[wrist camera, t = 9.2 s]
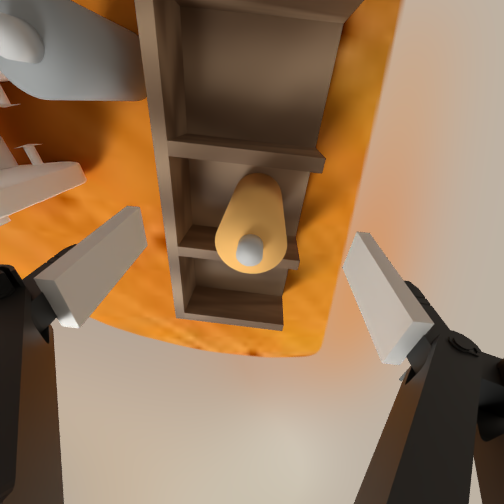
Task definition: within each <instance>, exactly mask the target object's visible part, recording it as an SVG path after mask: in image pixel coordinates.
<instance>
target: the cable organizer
mask: <svg viewBox="0 0 504 504" xmlns="http://www.w3.org/2000/svg"><path fill="white" fill-rule="evenodd" d="M4 81H9V80H8V79H7V78H6V77H5V76H4V75H3V73H2V72H1V71H0V82H4ZM15 105H19V104H11V103H10V101H9V99H8V98H7V96H6V94H5V92H4V90H3V89H2V87H1V85H0V107H5V108H6V107H10V106H15ZM34 145H41V144H26V145H23V146H20V147H16V148H21V147H23V148H24V150H25V152H26V154H27V155H28V157H29V159H30V161H31V162H32V164H27V165H18V164H17V162H16V160H15V158H14V157H13V155H12V153H11V152H10V150H9V148H8V147H7V145H6V143H5V142H4V140H3V138H2V137H1V135H0V226H1V225H4V224H6V223H8V222H10V221H11V220H10V218H9V217H8V216H9V215H11V214H13V213H16V212H18V211H20V210H23V209H25V208H27V207H30V206H32V205H34V204H37V203H39V202H41V201H44V200H46V199H48V198H51V197H53V196H55V195H58V194H60V193H62V192H65V191H67V190H69V189H72V188H74V187H76V186H79V185H81V184H83V183H85V182H86V181H87V179H86V176H85V174H84V172H83V170H82V168H81V166H80V164H79V163H78V162H70V161H66V162H51V163H43V161H42V160H41V158H40V156H39V154H38V152H37V150H36V149H35V147H34ZM13 149H14V148H13Z"/></svg>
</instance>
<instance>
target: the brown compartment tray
mask: <svg viewBox="0 0 504 504" xmlns="http://www.w3.org/2000/svg"><path fill="white" fill-rule="evenodd" d="M363 1H364V0H134V2H135V9H136V17H137V25H138V32H139V40H140V47H141V55H142V63H143V70H144V78H145V85H146V93H147V101H148V108H149V116H150V123H151V131H152V138H153V146H154V154H155V161H156V169H157V176H158V184H159V192H160V199H161V207H162V214H163V222H164V230H165V237H166V245H167V252H168V260H169V267H170V275H171V283H172V290H173V298H174V305H175V313H176V318H180V319H189V320H197V321H205V322H213V323H221V324H229V325H237V326H246V327H254V328H262V329H270V330H278V331H282V329H283V305H282V294H283V290H284V286H285V281H286V277H287V272H288V269H294V270H298V266H299V262H300V260H299V254H298V248H297V242H296V232H297V228H298V223H299V219H300V214H301V210H302V206H303V201H304V197H305V192H306V188H307V183H308V179H309V174H310V172H313V173H322V171H323V167H324V164H325V160H326V158H325V157H324V156H323V155H322V154H321V153H320V152H319V151H318V150H317V149H316V143H317V139H318V134H319V130H320V126H321V121H322V117H323V112H324V108H325V103H326V99H327V94H328V90H329V86H330V81H331V77H332V72H333V68H334V63H335V59H336V54H337V50H338V46H339V41H340V37H341V32H342V28H343V23H344V22H345V21H346V20H347V19H348V18H349V17H350V15H351V14H352V13H353V12H354V11H355V10H356V9H357V8H358V7H359V5H360V4H361V3H362V2H363ZM252 173H263V174H266V175H269V176H270V177H272V178H273V179H274V180H275V181H276V182H277V183H278V185H279V186H280V189H281V193H282V201H283V210H284V219H285V228H286V236H287V250H286V253H285V256H284V257H283V259H282V260H281V262H280V263H279V264H278V265H277V266H275V267H274V268H272V269H270V270H268V271H266V272H262V273H257V274H249V273H243V272H239V271H237V270H235V269H233V268H231V267H229V266H228V265H227V264H226V263H225V262H224V261H223V260H222V259H221V258H220V256H219V255H218V253H217V250H216V246H215V236H216V232H217V230H218V227H219V225H220V223H221V221H222V218H223V216H224V214H225V211H226V209H227V207H228V204H229V202H230V200H231V197H232V195H233V193H234V190H235V188H236V186H237V184H238V183H239V181H240V180H241V179H242V178H244V177H245V176H247V175H249V174H252Z"/></svg>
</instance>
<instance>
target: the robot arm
mask: <svg viewBox="0 0 504 504" xmlns="http://www.w3.org/2000/svg"><path fill="white" fill-rule="evenodd" d="M146 247H147V241H146V236H145V231H144V226H143V221H142V216H141V211H140V207H134V206H126V207H125V208H124V209H122V210H121V211H120V212H118V213H117V214H116V215H115V216H113V217H112V218H111V219H109V220H108V221H107V222H105V223H104V224H103V225H102V226H100V227H99V228H98V229H96V230H95V231H94V232H93V233H91V234H90V235H89V236H87V237H86V238H85V239H84V240H82V241H81V242H80V243H78V244H74V245H72V246H69V247H67V248H65V249H63V250H62V251H60V252H59V253H58V254H56V255H55V256H54V257H52V258H51V259H49V260H48V261H47V263H44V264H43V265H41V266H40V267H39V268H37V269H36V270H35V271H33V272H32V273H31V274H29V275H28V276H27V277H25V278H24V279H23V280H22V279H21V278H20V276H19V274H18V273H17V271H16V270H15V268H14V267H13V266H11V265H0V504H64V498H63V482H62V466H61V450H60V433H59V418H58V401H57V387H56V386H57V385H56V368H55V352H54V336H53V328H52V326H51V325H50V324H51V323H52V321H53V320H54V319H55V318H56V317H57V319H58V320H59V322H60V323H61V325H62V326H64V327H73V328H80V327H81V326H82V325H83V324H84V322H85V321H86V320H87V318H88V317H89V316H90V315H91V314H92V313H93V311H94V310H95V309H96V308H97V306H98V305H99V304H100V303H101V302H102V300H103V299H104V298H105V297H106V295H107V294H108V293H109V292H110V291H111V289H112V288H113V287H114V286H115V284H116V283H117V282H118V281H119V280H120V278H121V277H122V276H123V275H124V273H125V272H126V271H127V270H128V269H129V267H130V266H131V265H132V264H133V262H134V261H135V260H136V259H137V258H138V256H139V255H140V254H141V253H142V251H143V250H144V249H145V248H146ZM342 268H343V270H344V273H345V275H346V277H347V280H348V282H349V285H350V287H351V289H352V292H353V294H354V297H355V299H356V302H357V304H358V306H359V309H360V311H361V314H362V315H363V318H364V321H365V323H366V326H367V328H368V331H369V333H370V335H371V338H372V340H373V343H374V345H375V347H376V350H377V352H378V355H379V357H380V360H381V362H382V363H386V364H395V365H400V364H401V363H402V362H403V361H404V359H405V358H406V357H407V358H408V360H409V362H410V364H411V366H410V368H409V369H408V370H407V371H406V372H405V373H404V374H403V375H402V376H401V378H400V379H399V380H400V381H402V380H403V382H402V384H401V387H400V389H399V392H398V394H397V397H396V399H395V402H394V404H393V407H392V410H391V412H390V414H389V417H388V420H387V422H386V424H385V427H384V429H383V432H382V434H381V437H380V439H379V442H378V444H377V447H376V449H375V452H374V454H373V457H372V459H371V462H370V465H369V467H368V469H367V472H366V475H365V477H364V480H363V482H362V484H361V487H360V490H359V492H358V494H357V497H356V500H355V502H354V504H468V503H469V494H470V484H471V474H472V464H473V455H474V460H475V466H476V471H477V477H478V482H479V487H480V493H481V498H482V504H504V359H500V358H498V357H495V356H492V355H489V354H486V353H483V352H481V350H480V349H479V348H478V346H477V345H476V344H474V342H472V341H471V340H470V339H469V338H467V337H465V336H464V335H462V334H459V333H458V332H455V331H451V330H450V329H449V328H448V327H447V325H446V324H445V323H444V321H443V320H442V319H441V318H440V316H439V315H438V314H437V312H436V311H435V310H434V308H433V307H432V306H430V303H429V302H428V300H427V299H425V297H424V295H423V294H422V293H421V291H420V290H419V289H418V288H417V287H416V286H414V285H413V284H412V283H411V282H409V281H403V279H402V278H401V276H400V275H399V274H398V272H397V271H396V269H395V268H394V267H393V265H392V264H391V262H390V261H389V260H388V258H387V257H386V256H385V254H384V253H383V251H382V250H381V248H380V247H379V246H378V244H377V243H376V241H375V240H374V239H373V237H372V236H371V234H370V233H365V232H356V235H355V237H354V240H353V242H352V245H351V247H350V250H349V252H348V255H347V257H346V260H345V262H344V265H343V267H342Z"/></svg>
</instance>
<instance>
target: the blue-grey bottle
mask: <svg viewBox="0 0 504 504" xmlns="http://www.w3.org/2000/svg"><path fill="white" fill-rule="evenodd" d="M0 71H1V72H2V73H3V75H4V76H5V77H6V78H7V79H8V80H9V81H11V82H12V83H13V84H14V85H15V86H17V87H18V88H19V89H21V90H22V91H24V92H26V93H27V94H29V95H31V96H33V97H36V98H39V99H44V100H88V101H140V100H143V99H145V98H146V97H147V93H146V85H145V78H144V70H143V63H142V55H141V47H140V40H139V37H138V36H137V35H136V34H135V33H133V32H132V31H130V30H128V29H126V28H124V27H122V26H120V25H118V24H116V23H114V22H112V21H110V20H108V19H106V18H104V17H102V16H100V15H98V14H96V13H94V12H92V11H90V10H88V9H86V8H84V7H82V6H81V5H79V4H77V3H75V2H73V1H71V0H0Z"/></svg>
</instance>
